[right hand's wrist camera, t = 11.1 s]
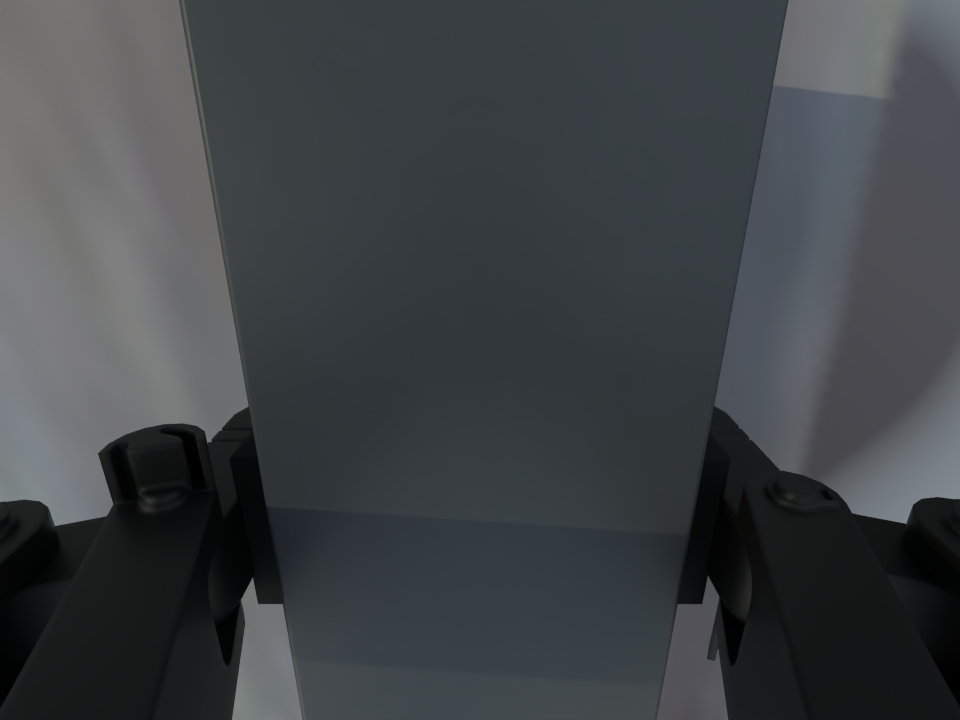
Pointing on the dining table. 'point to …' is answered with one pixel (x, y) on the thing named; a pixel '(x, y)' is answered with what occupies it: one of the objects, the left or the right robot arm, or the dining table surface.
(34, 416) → the dining table surface
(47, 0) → the dining table surface
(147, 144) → the dining table surface
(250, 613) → the dining table surface
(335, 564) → the beam
